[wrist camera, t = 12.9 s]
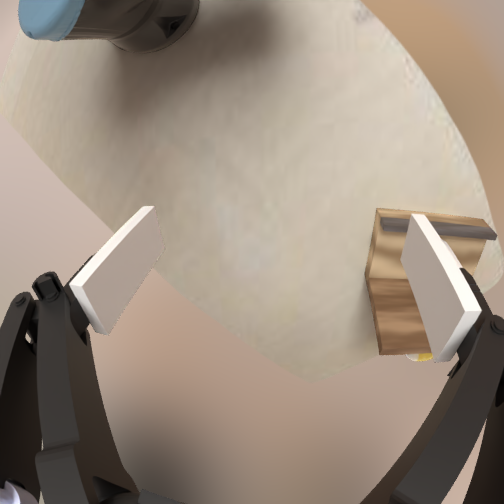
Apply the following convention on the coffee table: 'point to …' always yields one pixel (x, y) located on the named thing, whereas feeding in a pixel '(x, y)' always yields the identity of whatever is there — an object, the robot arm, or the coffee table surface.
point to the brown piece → (395, 279)
